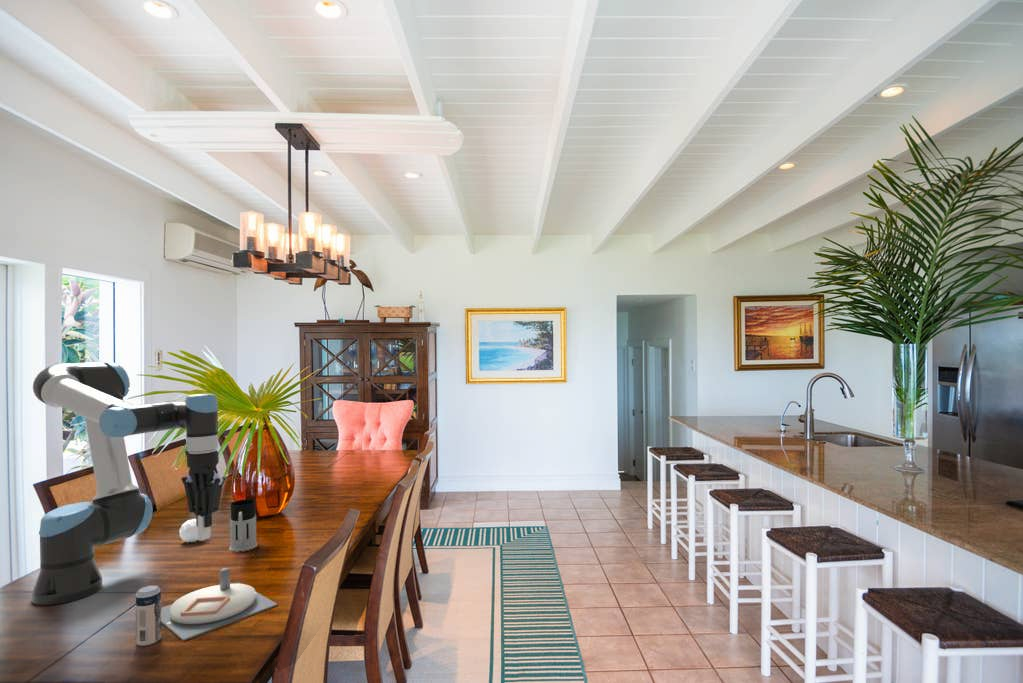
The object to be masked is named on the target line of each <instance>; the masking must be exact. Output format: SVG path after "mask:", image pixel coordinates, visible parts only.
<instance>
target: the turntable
mask: <svg viewBox="0 0 1023 683" xmlns="http://www.w3.org/2000/svg"><path fill="white" fill-rule="evenodd" d="M255 592H256V589H255V588H254V587H253V586H251V585H249V584H245V583H241V584H235V583H231V568H230V567H224V568H220V569H219V584H217V585H211V586H207V587H203V588H200V589H196V590H193V591H192V592H188V593H187V594H185V595H183V596H181V597H179V598H178V599H176V600H175V601H173V603H172V606H171V608H170V617H171V619H172V620H173V621H175V622H177V623H181V624H202V623H209V622H214V621H218V620H222V619H225V618H228V617H231V616H233V615H236V614H238V613H240V612H242V611H244V610H245V609H247V608H248V607H250V606H251V605H252V604H253V603H254V601H255Z"/></svg>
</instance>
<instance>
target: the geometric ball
mask: <svg viewBox="0 0 1023 683" xmlns="http://www.w3.org/2000/svg"><path fill="white" fill-rule="evenodd" d="M196 523H197V522H196V518H193V519H188V520H186V521H185V522H184V523H182V524H181V527H180V528H179V530H178V532H179V537H180V538H181V540H182V541H183V542H186V543H189V542H191V543H194V542H197V540H198V527H197V525H196ZM198 541H199V540H198Z"/></svg>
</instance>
